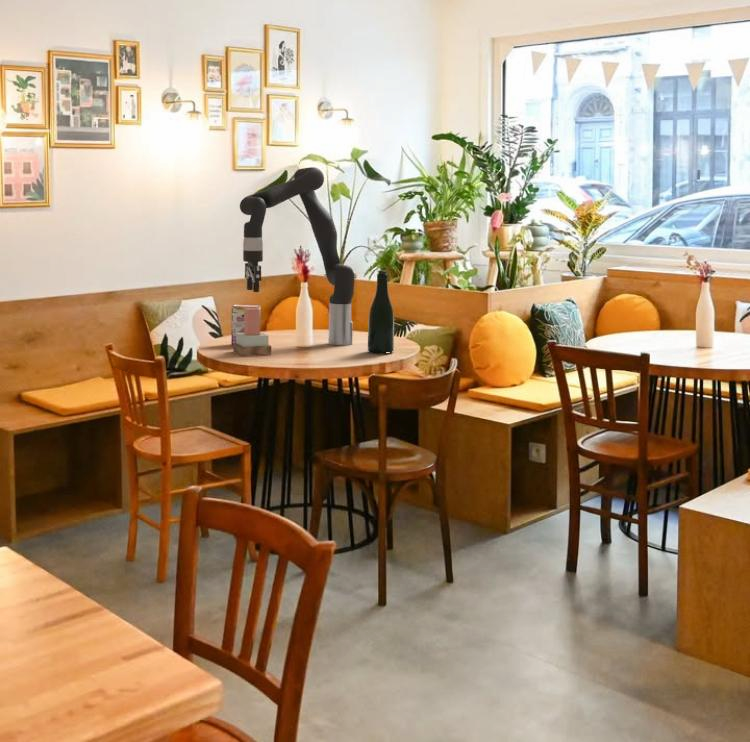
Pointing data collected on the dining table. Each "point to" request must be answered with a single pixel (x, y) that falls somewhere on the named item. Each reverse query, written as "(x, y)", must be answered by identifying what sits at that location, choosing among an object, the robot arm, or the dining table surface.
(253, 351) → the tan shallow square tray
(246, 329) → the brick-red block
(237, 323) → the candy bar box
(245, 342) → the painted slab
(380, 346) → the beer bottle
